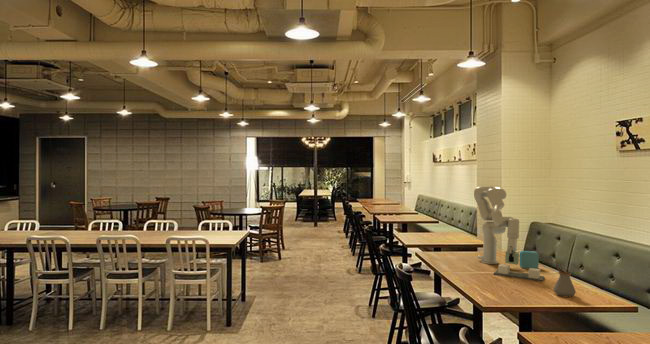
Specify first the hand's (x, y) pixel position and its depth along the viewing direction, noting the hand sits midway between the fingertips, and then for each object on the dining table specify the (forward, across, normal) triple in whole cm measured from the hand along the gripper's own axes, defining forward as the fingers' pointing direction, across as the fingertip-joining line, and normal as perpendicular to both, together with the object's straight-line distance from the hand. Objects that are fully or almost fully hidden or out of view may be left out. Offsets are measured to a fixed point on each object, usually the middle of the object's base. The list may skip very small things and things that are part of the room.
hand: (511, 260), depth 310 cm
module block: (+2, 0, 0) cm, 2 cm away
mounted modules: (+5, +15, +8) cm, 18 cm away
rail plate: (+7, +16, +8) cm, 18 cm away
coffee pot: (+6, +40, +36) cm, 54 cm away
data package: (+7, -18, +9) cm, 21 cm away
